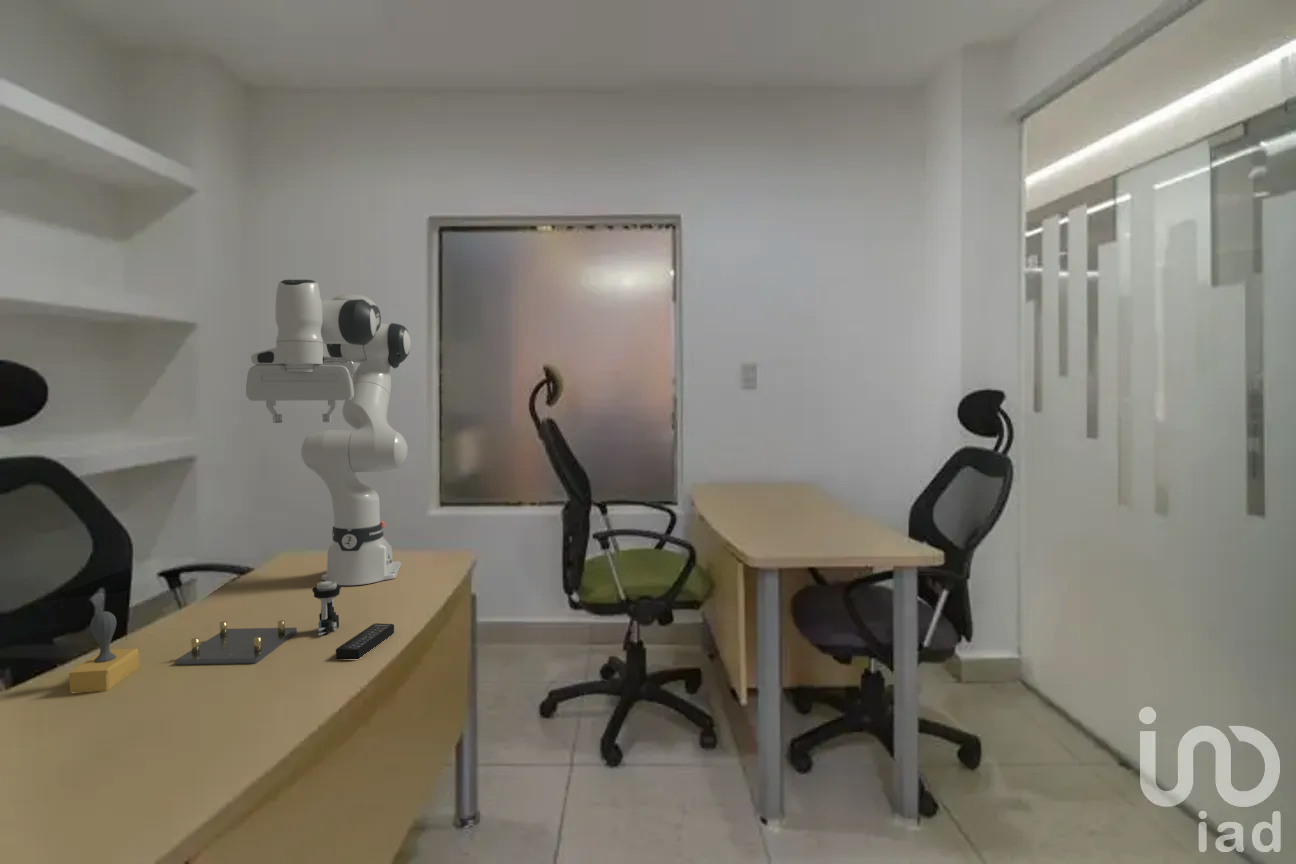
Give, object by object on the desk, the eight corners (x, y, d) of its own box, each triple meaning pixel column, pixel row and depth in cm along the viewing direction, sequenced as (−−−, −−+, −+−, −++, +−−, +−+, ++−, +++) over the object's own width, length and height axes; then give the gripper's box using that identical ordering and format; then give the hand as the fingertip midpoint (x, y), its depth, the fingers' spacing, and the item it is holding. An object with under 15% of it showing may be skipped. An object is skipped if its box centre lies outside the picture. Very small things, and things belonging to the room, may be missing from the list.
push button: (332, 637, 139) (331, 588, 138) (305, 637, 139) (304, 588, 138) (346, 626, 145) (345, 579, 145) (321, 626, 145) (319, 579, 145)
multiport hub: (335, 661, 128) (334, 649, 128) (374, 634, 142) (374, 622, 142) (357, 662, 127) (357, 650, 127) (395, 634, 142) (394, 623, 141)
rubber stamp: (108, 691, 115) (105, 620, 114) (68, 694, 113) (65, 622, 113) (140, 667, 124) (137, 601, 124) (103, 670, 123) (100, 603, 122)
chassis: (226, 633, 141) (225, 616, 141) (296, 632, 142) (296, 615, 142) (176, 664, 125) (175, 645, 125) (256, 663, 126) (255, 644, 126)
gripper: (355, 357, 152) (357, 421, 152) (250, 356, 146) (252, 422, 147) (352, 356, 146) (354, 422, 146) (242, 355, 140) (244, 423, 141)
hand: (302, 422), depth 146 cm, fingers open, 8 cm apart
